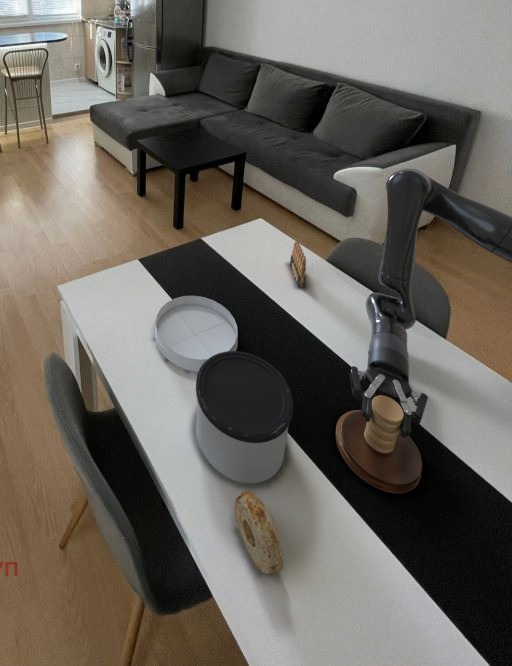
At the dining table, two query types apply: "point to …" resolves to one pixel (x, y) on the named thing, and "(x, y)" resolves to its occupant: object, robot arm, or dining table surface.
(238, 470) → the container
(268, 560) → the bagel
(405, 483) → the brown round base
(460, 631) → the dining table surface
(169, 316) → the dish
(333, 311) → the dining table surface
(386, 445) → the chip roll
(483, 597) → the dining table surface
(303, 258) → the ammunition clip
